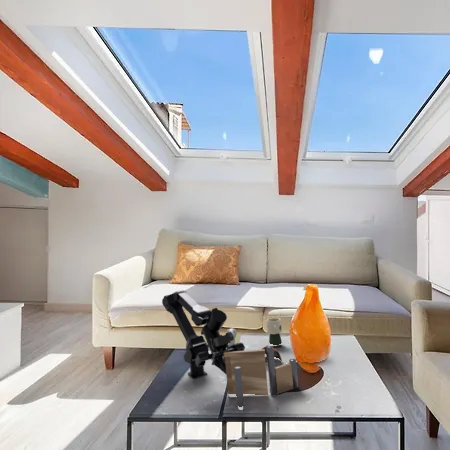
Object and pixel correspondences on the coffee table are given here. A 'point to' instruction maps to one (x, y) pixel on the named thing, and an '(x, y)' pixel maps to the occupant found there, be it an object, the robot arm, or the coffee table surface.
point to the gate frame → (272, 377)
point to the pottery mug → (276, 354)
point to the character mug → (274, 330)
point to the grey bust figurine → (233, 336)
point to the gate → (247, 371)
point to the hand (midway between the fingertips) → (229, 375)
